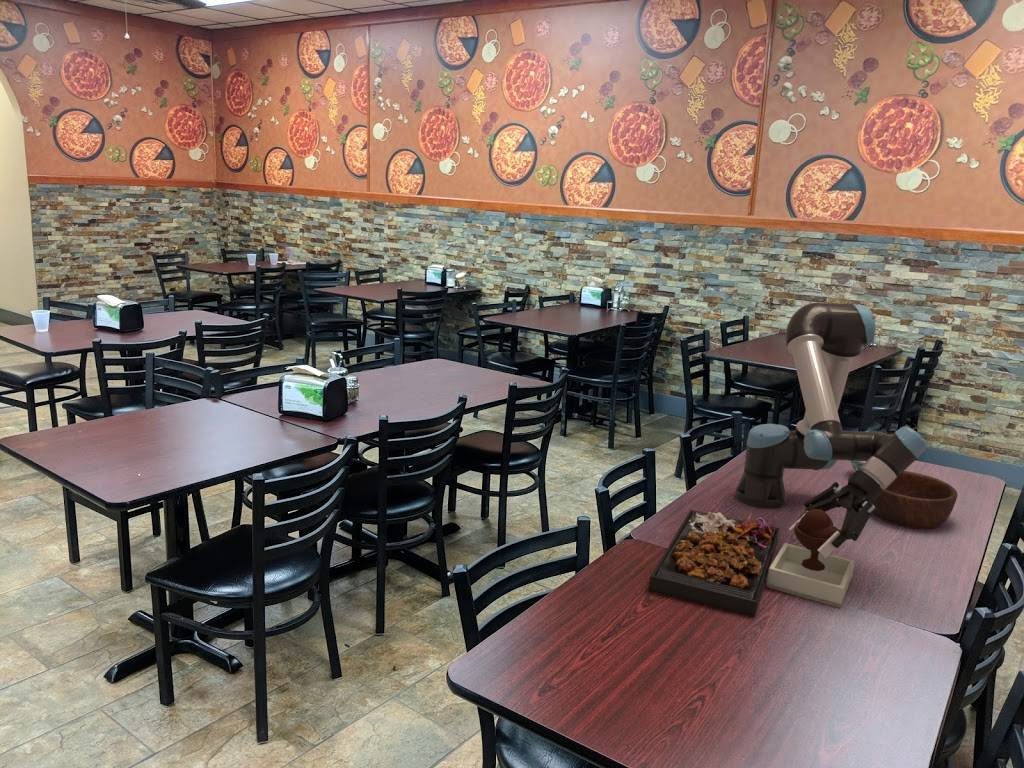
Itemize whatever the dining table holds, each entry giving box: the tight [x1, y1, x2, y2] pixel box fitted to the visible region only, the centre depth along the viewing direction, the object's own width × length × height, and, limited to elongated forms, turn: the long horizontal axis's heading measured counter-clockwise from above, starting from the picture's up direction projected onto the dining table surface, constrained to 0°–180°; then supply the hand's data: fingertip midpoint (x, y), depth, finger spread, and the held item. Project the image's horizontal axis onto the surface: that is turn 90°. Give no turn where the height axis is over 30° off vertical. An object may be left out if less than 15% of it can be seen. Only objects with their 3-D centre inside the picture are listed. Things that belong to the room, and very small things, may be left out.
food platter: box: [648, 509, 780, 618], centre depth 204 cm, size 45×25×10 cm, turn 156°
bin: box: [766, 542, 855, 609], centre depth 197 cm, size 17×17×5 cm
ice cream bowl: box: [794, 509, 841, 571], centre depth 194 cm, size 11×11×15 cm
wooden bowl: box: [869, 470, 958, 530], centre depth 240 cm, size 25×25×10 cm
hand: (806, 543), depth 194 cm, fingers closed on ice cream bowl, 11 cm apart
